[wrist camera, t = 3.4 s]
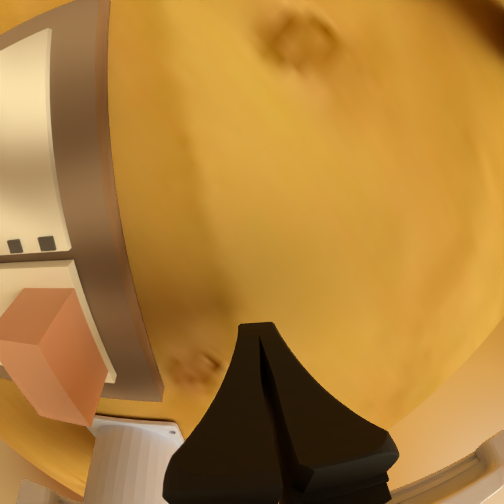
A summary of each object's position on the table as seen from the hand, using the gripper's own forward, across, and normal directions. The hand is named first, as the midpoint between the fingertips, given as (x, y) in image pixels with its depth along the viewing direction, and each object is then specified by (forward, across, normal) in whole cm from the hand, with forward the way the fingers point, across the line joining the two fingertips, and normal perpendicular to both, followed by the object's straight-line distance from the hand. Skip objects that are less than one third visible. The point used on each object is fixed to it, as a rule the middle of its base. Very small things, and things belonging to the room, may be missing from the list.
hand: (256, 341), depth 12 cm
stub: (+1, +12, 0) cm, 12 cm away
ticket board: (+2, +17, -4) cm, 18 cm away
